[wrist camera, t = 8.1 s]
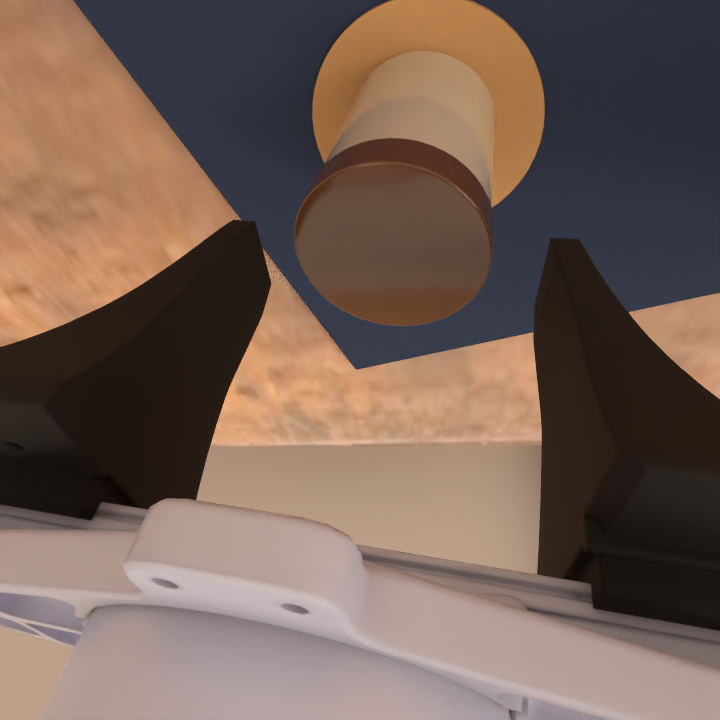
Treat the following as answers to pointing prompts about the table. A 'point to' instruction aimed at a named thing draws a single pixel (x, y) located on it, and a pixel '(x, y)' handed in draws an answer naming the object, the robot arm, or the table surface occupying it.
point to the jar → (405, 195)
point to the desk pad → (512, 135)
